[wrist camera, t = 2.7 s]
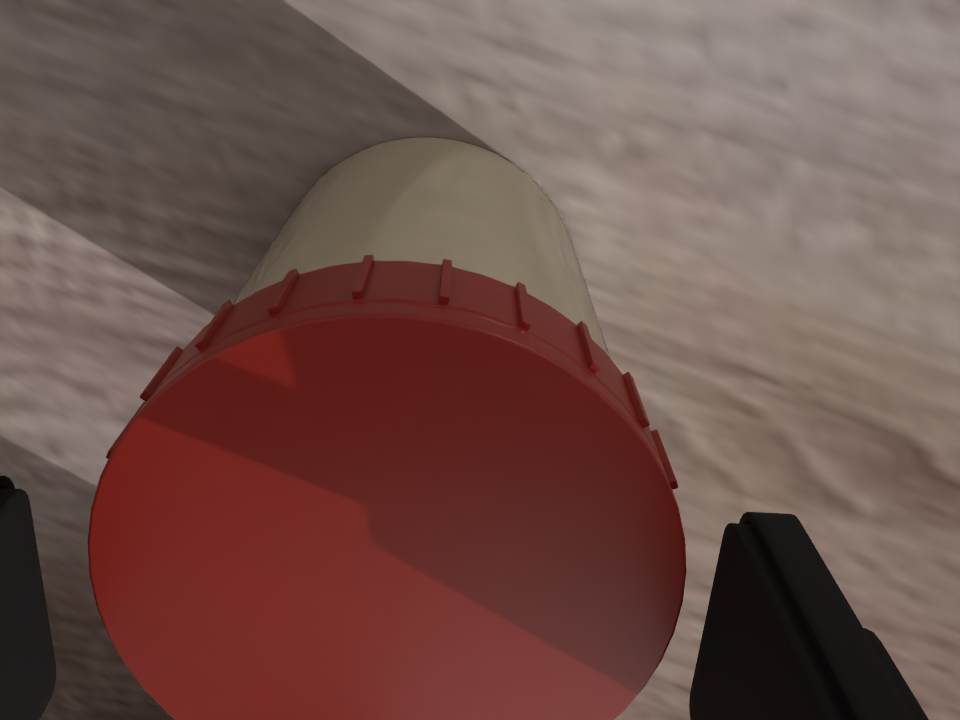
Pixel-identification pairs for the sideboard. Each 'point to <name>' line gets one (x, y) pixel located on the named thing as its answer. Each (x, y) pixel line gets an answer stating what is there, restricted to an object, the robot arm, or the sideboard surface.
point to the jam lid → (389, 510)
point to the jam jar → (434, 222)
